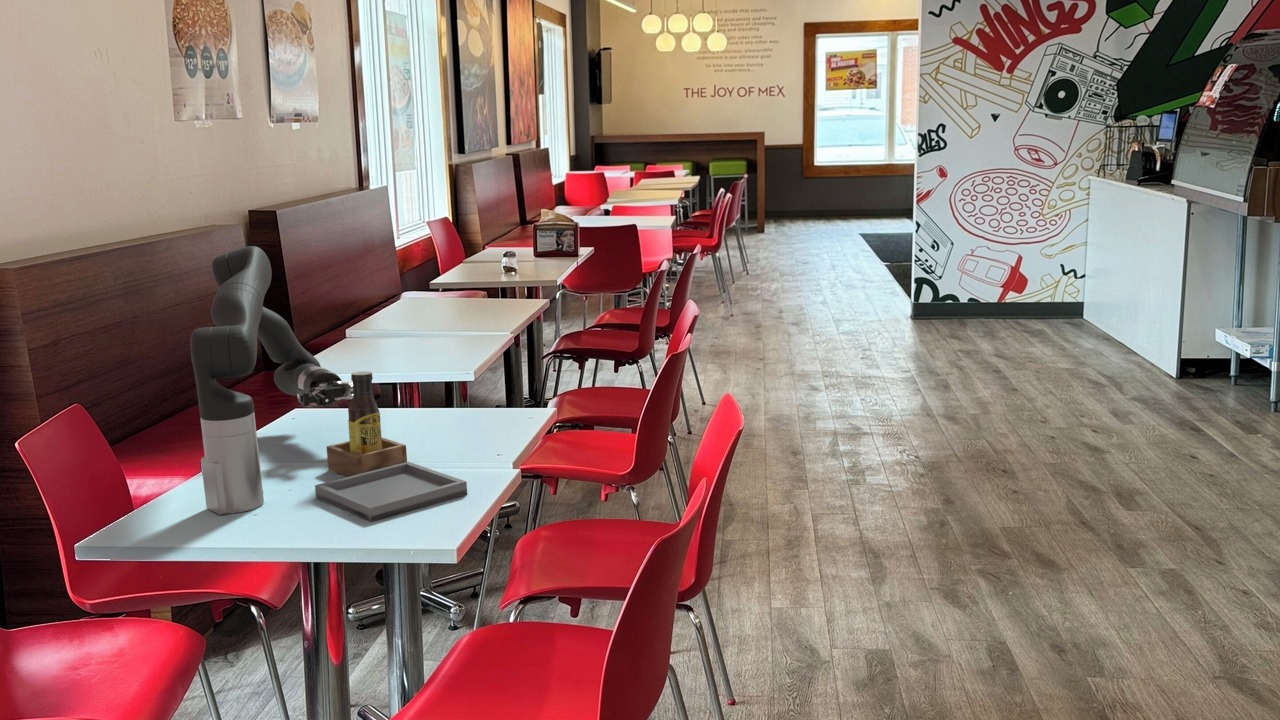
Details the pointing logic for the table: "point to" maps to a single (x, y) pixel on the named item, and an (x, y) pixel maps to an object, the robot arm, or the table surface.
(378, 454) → the condiment box
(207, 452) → the robot arm
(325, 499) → the serving tray
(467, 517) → the table surface
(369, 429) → the sauce bottle
